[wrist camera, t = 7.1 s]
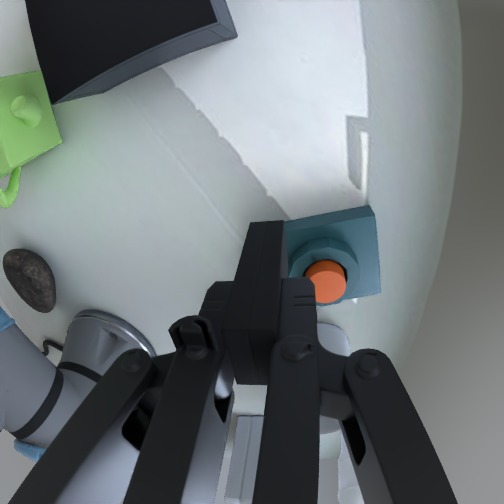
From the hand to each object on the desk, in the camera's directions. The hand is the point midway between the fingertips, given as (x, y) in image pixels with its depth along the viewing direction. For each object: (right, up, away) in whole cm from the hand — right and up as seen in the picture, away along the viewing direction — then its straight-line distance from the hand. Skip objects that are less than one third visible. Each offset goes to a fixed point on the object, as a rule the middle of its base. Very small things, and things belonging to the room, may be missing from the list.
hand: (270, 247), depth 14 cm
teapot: (-26, +15, +12) cm, 32 cm away
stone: (-31, -3, +24) cm, 40 cm away
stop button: (+6, -2, +14) cm, 15 cm away
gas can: (+1, -35, +39) cm, 53 cm away
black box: (-11, +23, +5) cm, 26 cm away
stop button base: (+6, -1, +17) cm, 18 cm away
